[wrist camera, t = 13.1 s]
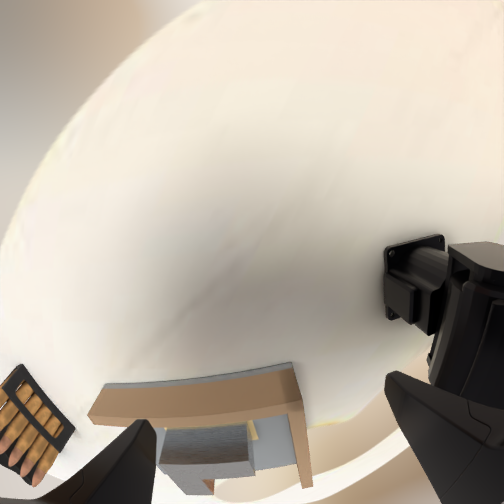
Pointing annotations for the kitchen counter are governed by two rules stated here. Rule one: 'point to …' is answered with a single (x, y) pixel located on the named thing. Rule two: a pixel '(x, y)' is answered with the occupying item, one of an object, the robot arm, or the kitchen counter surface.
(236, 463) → the angle bracket
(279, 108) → the kitchen counter surface
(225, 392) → the arena
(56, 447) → the ammunition clip
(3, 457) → the pen holder
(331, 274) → the kitchen counter surface
